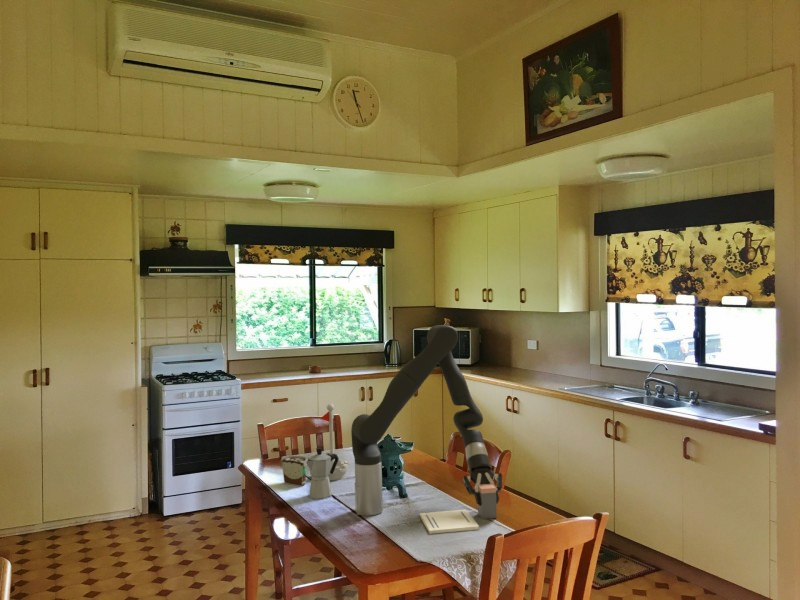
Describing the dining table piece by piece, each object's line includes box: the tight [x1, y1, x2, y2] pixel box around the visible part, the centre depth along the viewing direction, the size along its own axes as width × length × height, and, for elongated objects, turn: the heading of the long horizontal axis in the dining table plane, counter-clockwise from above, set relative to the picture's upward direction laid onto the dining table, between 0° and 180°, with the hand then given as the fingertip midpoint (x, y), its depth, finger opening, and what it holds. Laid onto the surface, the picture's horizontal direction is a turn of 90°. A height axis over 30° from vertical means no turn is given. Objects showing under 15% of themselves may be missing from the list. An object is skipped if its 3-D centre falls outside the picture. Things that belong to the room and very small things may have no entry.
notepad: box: [419, 508, 480, 535], centre depth 218 cm, size 16×16×1 cm
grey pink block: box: [477, 484, 498, 520], centre depth 223 cm, size 5×5×10 cm
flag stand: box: [320, 403, 349, 481], centre depth 274 cm, size 13×13×30 cm
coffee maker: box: [305, 447, 340, 500], centre depth 250 cm, size 15×9×18 cm, turn 131°
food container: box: [280, 455, 308, 487], centre depth 267 cm, size 12×6×10 cm, turn 58°
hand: (488, 503), depth 222 cm, fingers closed on grey pink block, 5 cm apart
